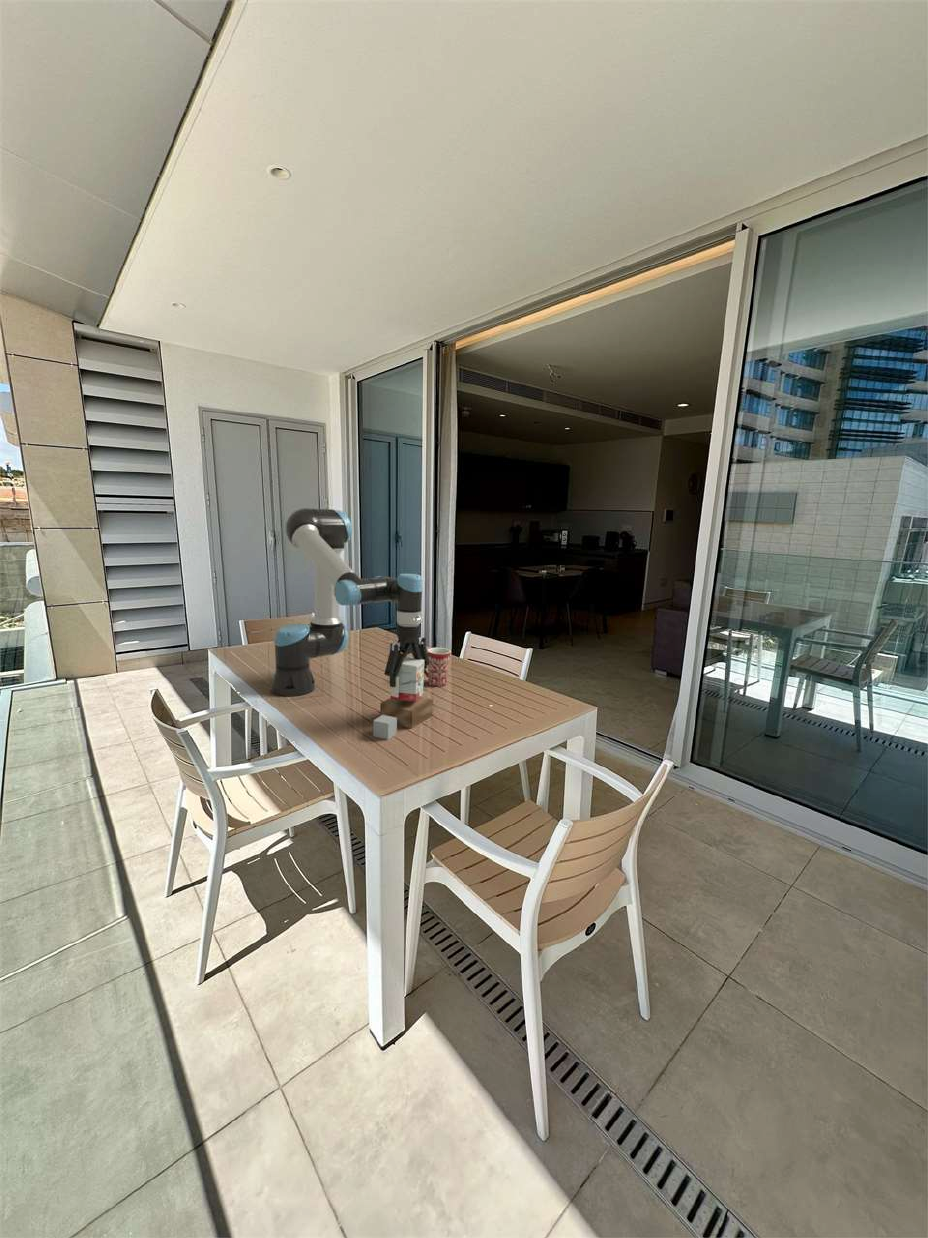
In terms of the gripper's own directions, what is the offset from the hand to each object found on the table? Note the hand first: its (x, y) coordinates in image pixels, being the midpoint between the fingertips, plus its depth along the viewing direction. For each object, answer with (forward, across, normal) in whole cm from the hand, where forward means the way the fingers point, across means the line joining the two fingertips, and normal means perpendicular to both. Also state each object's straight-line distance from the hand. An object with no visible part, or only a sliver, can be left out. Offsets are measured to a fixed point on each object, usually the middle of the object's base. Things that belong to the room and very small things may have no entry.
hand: (407, 691), depth 159 cm
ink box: (+2, 0, 0) cm, 2 cm away
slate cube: (+9, -14, -4) cm, 17 cm away
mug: (+9, +32, +16) cm, 37 cm away
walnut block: (+9, 0, 0) cm, 9 cm away
